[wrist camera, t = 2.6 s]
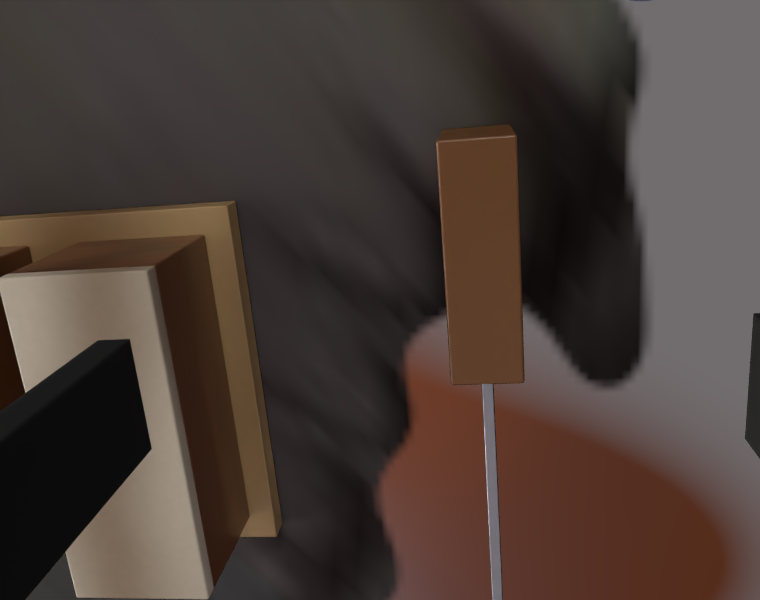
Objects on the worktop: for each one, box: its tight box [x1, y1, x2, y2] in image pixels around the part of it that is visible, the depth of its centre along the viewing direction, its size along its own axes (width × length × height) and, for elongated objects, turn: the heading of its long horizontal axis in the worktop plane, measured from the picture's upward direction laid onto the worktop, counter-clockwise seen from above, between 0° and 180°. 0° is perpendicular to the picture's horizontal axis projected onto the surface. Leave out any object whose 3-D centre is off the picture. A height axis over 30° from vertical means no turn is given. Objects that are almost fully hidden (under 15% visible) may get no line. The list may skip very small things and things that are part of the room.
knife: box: [436, 125, 524, 600], centre depth 27 cm, size 23×2×4 cm, turn 5°
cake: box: [0, 201, 282, 599], centre depth 27 cm, size 14×14×6 cm
